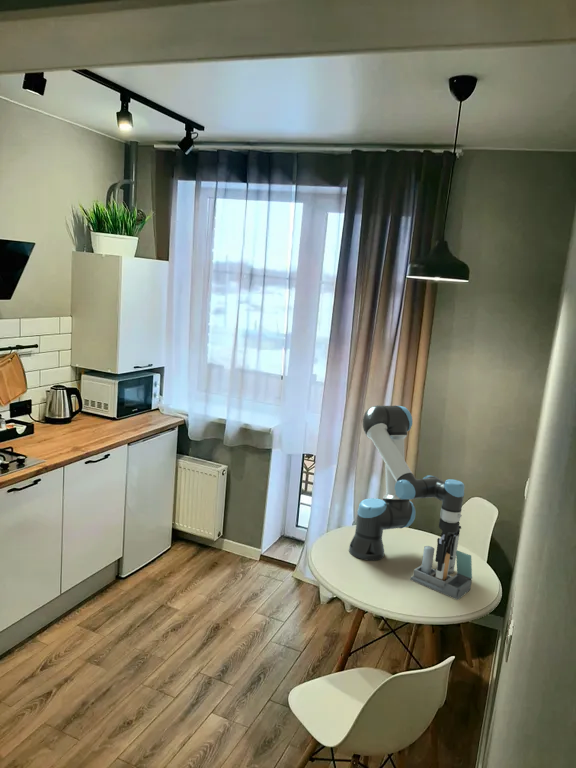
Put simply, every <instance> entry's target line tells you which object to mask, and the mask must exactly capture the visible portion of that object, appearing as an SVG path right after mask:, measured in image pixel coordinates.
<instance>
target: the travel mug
mask: <svg viewBox="0 0 576 768" xmlns="http://www.w3.org/2000/svg"><path fill="white" fill-rule="evenodd" d="M461 529H462V526H461V525H459V530H458V532H457V536H456V540H455V546H454V553H453V556H451V557H453V559H452V560H451V559H450V564H449V571H448V575H451V574H453V573H454V571H455V566H456V561H457V559H456V551H458V545H459V539H460V538H459V537H460V532H461Z"/></svg>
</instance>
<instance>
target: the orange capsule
mask: <svg viewBox="0 0 576 768" xmlns="http://www.w3.org/2000/svg"><path fill="white" fill-rule="evenodd" d="M449 560H450V554H449V553H447V552H446V556H445V560H444V563H445V567H444V573H443V579H440V578H438V579H440V580H443V581H446V580H447V573H448V567H449ZM436 578H437V577H436Z"/></svg>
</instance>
